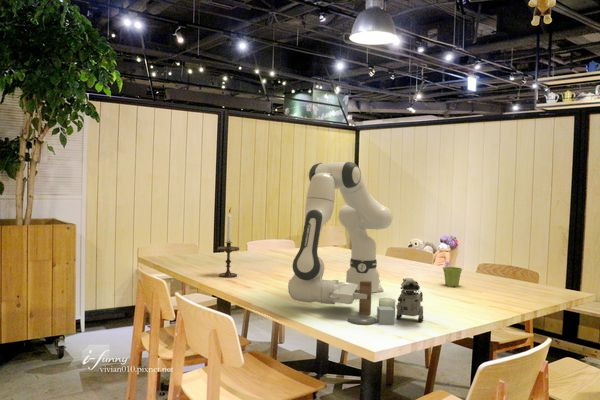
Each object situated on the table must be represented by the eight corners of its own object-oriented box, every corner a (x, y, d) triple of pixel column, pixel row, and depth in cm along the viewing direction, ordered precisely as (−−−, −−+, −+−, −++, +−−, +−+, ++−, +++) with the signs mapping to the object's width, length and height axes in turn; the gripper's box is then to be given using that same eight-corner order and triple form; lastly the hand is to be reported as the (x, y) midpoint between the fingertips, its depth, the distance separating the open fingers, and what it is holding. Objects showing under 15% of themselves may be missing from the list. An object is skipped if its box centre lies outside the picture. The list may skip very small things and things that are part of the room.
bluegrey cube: (376, 320, 178) (377, 306, 178) (390, 320, 179) (391, 306, 178) (379, 324, 173) (380, 309, 173) (394, 324, 174) (394, 310, 173)
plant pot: (438, 285, 247) (439, 267, 247) (447, 283, 254) (448, 265, 253) (456, 288, 240) (457, 270, 240) (465, 286, 247) (465, 268, 247)
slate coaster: (349, 316, 183) (349, 314, 183) (377, 318, 181) (377, 316, 180) (345, 323, 173) (346, 321, 173) (375, 325, 171) (375, 323, 171)
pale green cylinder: (378, 313, 188) (379, 297, 188) (395, 314, 187) (395, 298, 187) (377, 317, 182) (378, 300, 182) (394, 318, 181) (395, 302, 181)
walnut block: (360, 311, 190) (361, 279, 190) (370, 312, 189) (371, 280, 189) (358, 314, 186) (360, 281, 186) (369, 315, 185) (370, 282, 185)
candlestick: (242, 277, 255) (244, 207, 254) (222, 278, 249) (224, 207, 248) (232, 273, 264) (234, 206, 263) (213, 275, 258) (215, 206, 257)
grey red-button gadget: (392, 323, 175) (394, 280, 174) (399, 316, 185) (400, 275, 185) (419, 327, 171) (420, 282, 171) (424, 319, 182) (426, 277, 181)
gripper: (326, 289, 180) (365, 291, 177) (335, 279, 200) (370, 281, 197) (326, 306, 180) (365, 309, 177) (334, 294, 200) (369, 297, 197)
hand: (367, 294), depth 187 cm, fingers closed on walnut block, 4 cm apart
